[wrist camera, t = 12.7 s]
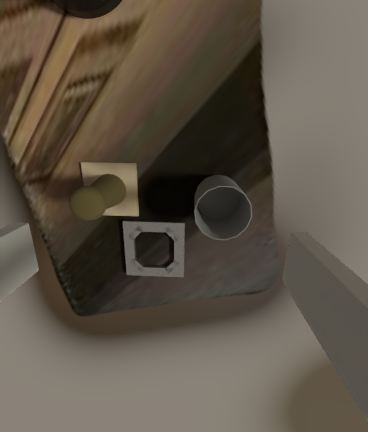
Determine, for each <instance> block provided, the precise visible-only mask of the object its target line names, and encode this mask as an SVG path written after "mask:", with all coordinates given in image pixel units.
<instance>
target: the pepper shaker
mask: <svg viewBox="0 0 368 432" xmlns="http://www.w3.org/2000/svg"><path fill="white" fill-rule="evenodd" d="M125 196H126V186H125V184H124V182H123V181H122V180H121V179H120V178H119V177H118V176H116V175H113V174H104V175H102V176H100V177H99V178H98V179H97V180H95V181H94V182H93V183H92V184H91V185H90V186H83V187H80V188H78V189H76V190H75V191H74V192H73V193H72V195H71V197H70V200H69V201H70V208H71V211H72V212H73V214H74V215H75V216H77V217H78V218H80V219H82V220H86V221H91V220H96V219H98V218H100V217H101V216H102V215H103V214H104V212H105V210H106V209H108V208H111V207H113V206H115V205H118V204H120V203H121V202H122V201H123V200H124V199H125Z"/></svg>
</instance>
